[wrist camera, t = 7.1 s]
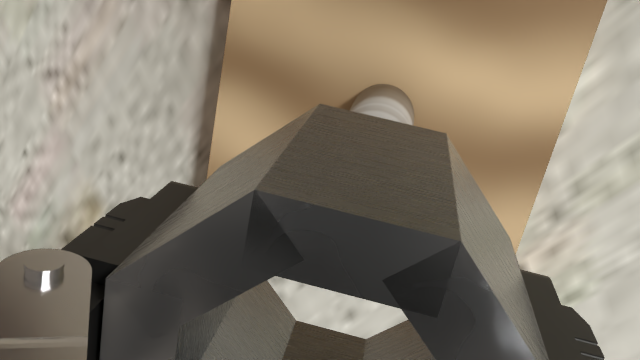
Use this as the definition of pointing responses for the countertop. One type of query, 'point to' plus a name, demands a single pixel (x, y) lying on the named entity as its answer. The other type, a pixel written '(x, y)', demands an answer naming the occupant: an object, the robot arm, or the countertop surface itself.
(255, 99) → the shaft stand
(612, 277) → the countertop surface
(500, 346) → the ring
